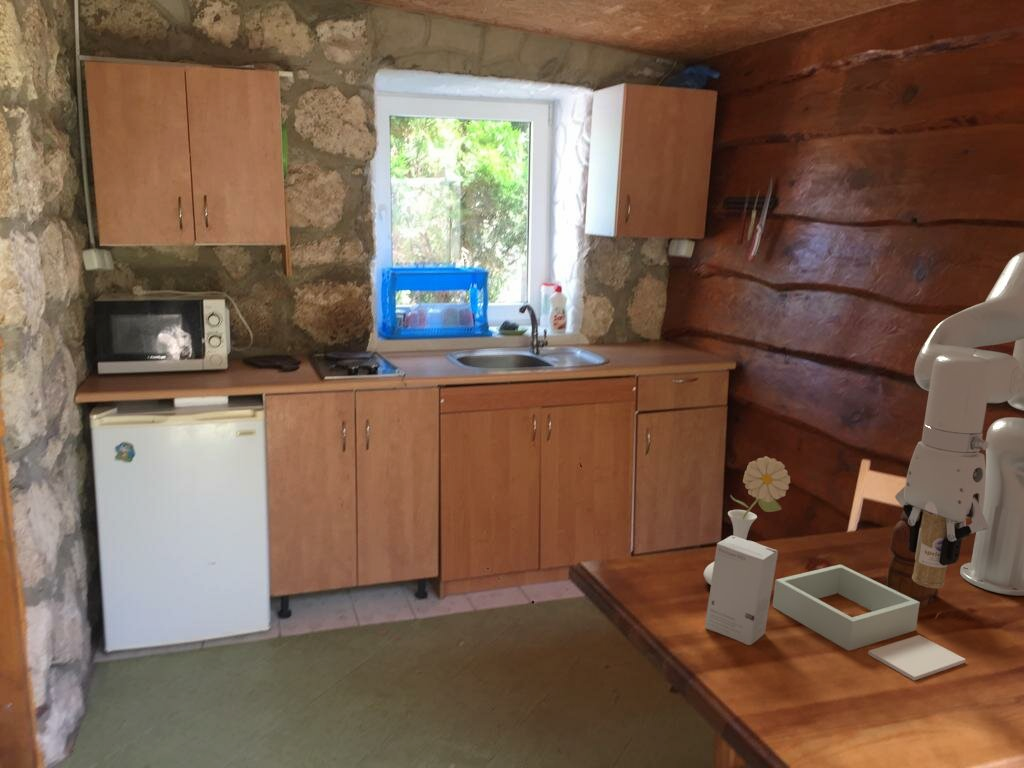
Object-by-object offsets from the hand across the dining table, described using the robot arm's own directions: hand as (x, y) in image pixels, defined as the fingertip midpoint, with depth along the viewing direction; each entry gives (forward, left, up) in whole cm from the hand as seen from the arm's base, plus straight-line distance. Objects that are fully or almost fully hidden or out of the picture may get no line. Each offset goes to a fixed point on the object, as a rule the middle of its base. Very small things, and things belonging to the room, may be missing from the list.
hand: (932, 555), depth 125 cm
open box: (0, -14, -17) cm, 22 cm away
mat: (0, 0, -17) cm, 17 cm away
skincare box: (+20, -18, -17) cm, 32 cm away
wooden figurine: (-18, -14, -17) cm, 29 cm away
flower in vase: (+8, -30, -17) cm, 35 cm away
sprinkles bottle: (0, 0, -5) cm, 5 cm away
